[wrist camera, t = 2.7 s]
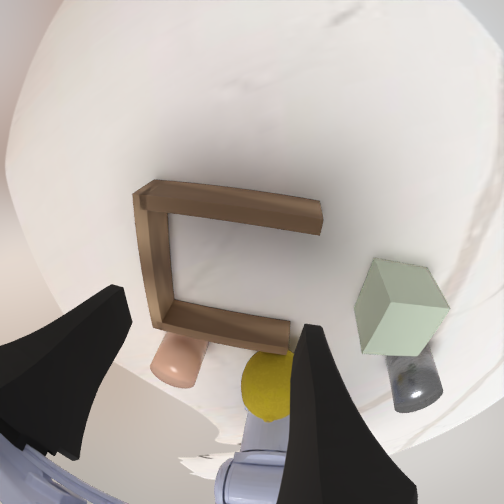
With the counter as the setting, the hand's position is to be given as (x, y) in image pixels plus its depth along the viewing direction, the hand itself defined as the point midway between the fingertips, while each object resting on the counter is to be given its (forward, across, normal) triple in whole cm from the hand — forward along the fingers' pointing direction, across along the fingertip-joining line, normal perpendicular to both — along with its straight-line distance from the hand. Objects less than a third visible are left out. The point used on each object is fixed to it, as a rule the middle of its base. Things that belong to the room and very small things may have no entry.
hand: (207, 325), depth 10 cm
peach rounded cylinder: (+10, +5, +14) cm, 18 cm away
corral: (+10, +1, +4) cm, 11 cm away
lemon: (+10, -4, +13) cm, 17 cm away
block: (+10, -12, +4) cm, 16 cm away
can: (+10, -18, +12) cm, 24 cm away
